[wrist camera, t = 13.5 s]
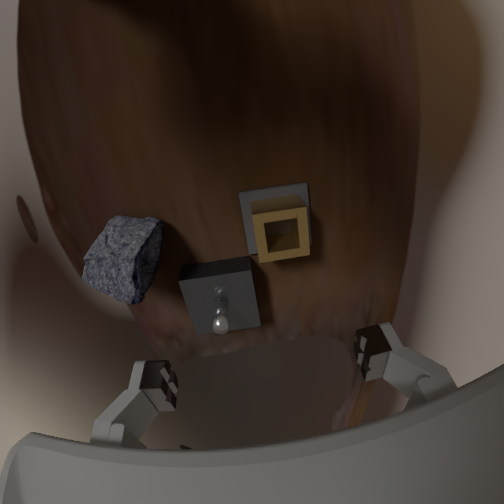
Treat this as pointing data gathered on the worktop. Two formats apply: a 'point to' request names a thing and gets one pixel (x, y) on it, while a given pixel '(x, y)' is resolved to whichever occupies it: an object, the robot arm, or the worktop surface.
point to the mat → (274, 226)
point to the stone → (125, 258)
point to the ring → (283, 242)
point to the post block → (220, 295)
